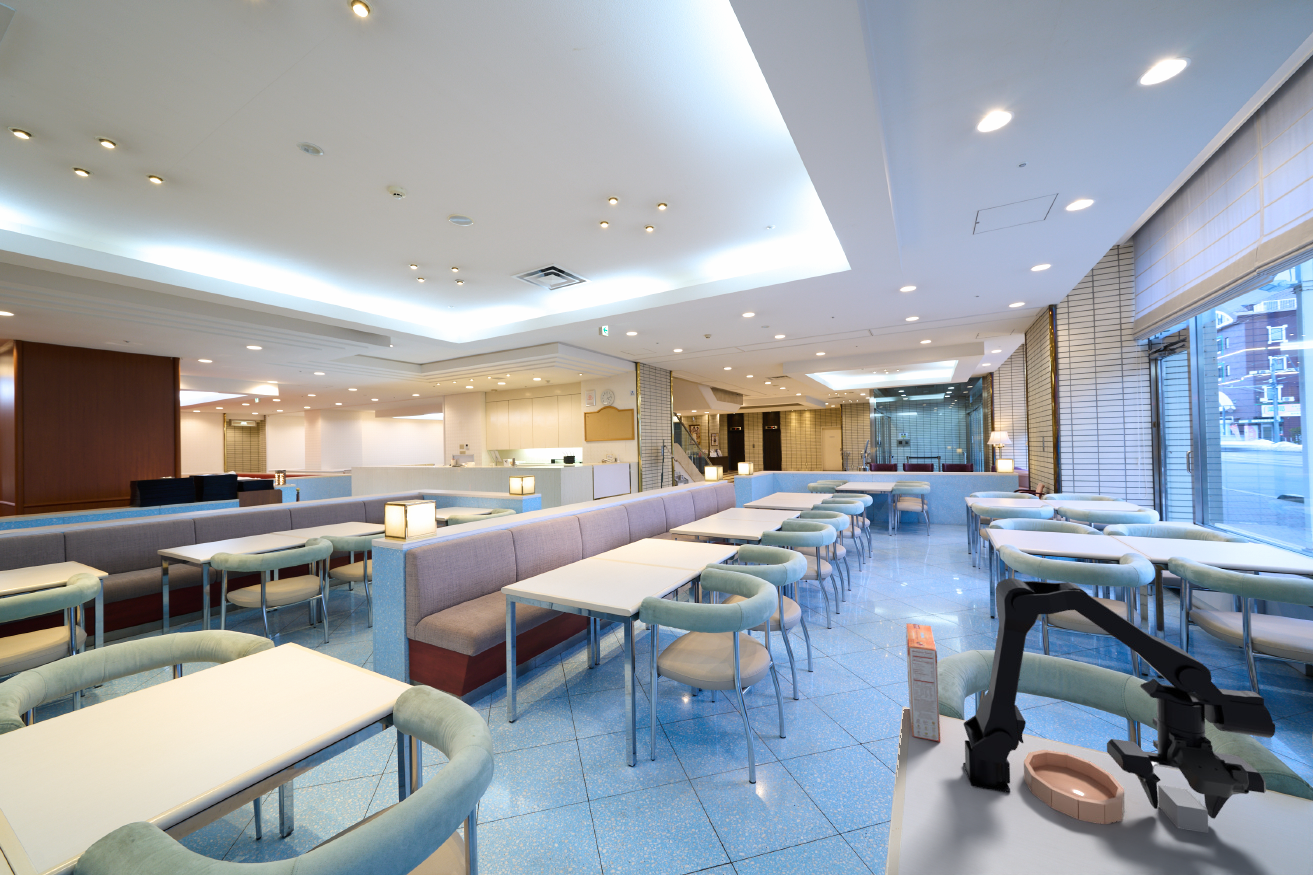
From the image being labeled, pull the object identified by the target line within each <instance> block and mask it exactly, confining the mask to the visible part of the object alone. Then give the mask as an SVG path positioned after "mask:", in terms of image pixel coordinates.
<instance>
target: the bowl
mask: <svg viewBox="0 0 1313 875" xmlns="http://www.w3.org/2000/svg"><path fill="white" fill-rule="evenodd" d="M1023 778H1024V782H1025V783H1026V785H1027V786H1028V788H1029V791H1030V792H1031V793H1032V794H1033V795H1034V796H1035V797H1036V798H1037V799H1039V800H1040V801H1042V802H1043V803H1044V804H1046V805H1047V806H1048V807H1050V808H1052V809H1053V810H1056V811H1058V812H1060V813H1061V814H1062V813H1063V814H1064V815H1067V816H1069V817H1072V818H1073V819H1076V820H1079V821H1082V822H1083V821H1084V822H1090V823H1095V824H1100V823H1101V824H1102V825H1109V824H1112V823H1111V822H1113V823H1117V822H1121V821H1123V818H1124V814H1125V805H1126V804H1125V803H1126V802H1125V788H1124V787H1123V786H1122V785H1121V784H1120V782H1119V781H1118V780H1117V778H1115V776H1114V775H1113V774H1111V773H1110V772H1108V771H1106V770H1105V769H1103V767H1100V766H1099V765H1097V764H1095V763H1094V762H1091V761H1090V760H1087V759H1085V758H1081V757H1078V756H1076V755H1073V754H1071V753H1068V752H1063V751H1055V750H1048V749H1041V750H1034V751H1030V752H1028V753H1027V754H1026V756H1025V759H1024V761H1023ZM1116 821H1117V822H1116ZM1108 823H1109V824H1108ZM1101 824H1100V825H1101Z"/></svg>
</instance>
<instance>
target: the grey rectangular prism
mask: <svg viewBox="0 0 1313 875" xmlns="http://www.w3.org/2000/svg"><path fill="white" fill-rule="evenodd" d="M1157 793H1158V807H1159V808H1160V809H1161V811H1162V812H1163V813H1164V814H1165V815H1166V816H1167V818H1169V819H1170V821H1171V822H1172V823H1173V824H1174V825H1175V827H1176V828H1178V829H1183V830H1188V831H1193V832H1200V833H1201V832H1202V833H1206V834H1209V815H1208V810H1207V809H1206V806H1205V805H1203V803H1201V802H1200V801H1199V800H1198V799H1197V798H1196V797H1195V796H1194V795H1193V793H1191V791H1189V790H1188V789H1187V788H1181V787H1176V786H1168V785H1161V784H1157Z"/></svg>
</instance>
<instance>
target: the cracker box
mask: <svg viewBox="0 0 1313 875" xmlns="http://www.w3.org/2000/svg"><path fill="white" fill-rule="evenodd" d="M905 640H906V641H905V643H906V663H907V666H906V667H907V668H906V669H907V685H908V686H907V687H908V703H909V706H908V707H909V717H910V726H911V727H910V728H911V733H912V734H911V736H912V737H913V738H917V739H918V738H919V739H924V740H929V741H933V742H938V743H941V726H940V723H941V722H940V721H941V720H940V701H939V678H938V676H939V674H938V671H939V670H938V651H937V647H936V643H935V637H934V633H933V629H932V626H931V625H926V624H925V625H924V624H918V623H905Z"/></svg>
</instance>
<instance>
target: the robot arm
mask: <svg viewBox="0 0 1313 875" xmlns="http://www.w3.org/2000/svg"><path fill="white" fill-rule="evenodd" d="M995 605H996V612H997V617H998V629H997V636H996V642H995V648H994V652H993V653H994V654H993V660H992V667H991V674H990V679H989V686H988V690H987V692H986V693H985V695H984V696H983V697H982V698H981V700H980V702H979V705H978V707H977V710H976V711H975V712H976V713H975V715H973V716H972V717H970V718H969V719H967V720H966V721H965V722H963V727H964V730H965V732H966V735H967V739H968V740H964V757H965V759H964V760H965V761H964V762H963V763H962V767H963V769H964V772H965V774H966V777H967V779H968V781H969V784H970V786H972V787H973V788H978V789H983V790H984V789H986V790H991V791H995V792H1003V793H1007V794H1009V793H1011V788H1010V786H1009V784H1011V771H1010V770H1011V767H1010V766H1011V764H1010V762H1009V760H1008V757H1009V755H1010V753H1011V752H1012V751H1016V750H1017V749H1018V747H1019V744H1020V743H1021V744H1024V739H1023V734H1024V730H1025V729H1026V724H1027V723H1026V722H1027V721H1026V720H1025V718H1024V716H1023V714H1022V713H1021V710H1020V709H1019V707H1018V705H1016V700H1017V694H1018V687H1019V681H1020V675H1021V669H1022V662H1023V657H1024V651H1025V645H1026V639H1027V635H1028V633H1029V632H1030V631H1031V629H1032V628H1033V627H1034V626H1035V624H1036V622H1037V620H1038V617H1039V615H1054V614H1057V613H1062V612H1066V611H1075V612H1077V613H1079V615H1082V617H1084V618H1086V620H1089V621H1090V622H1092V623H1093V624H1094V625H1096V626H1097V627H1099V628H1100V629H1102V630H1103V631H1105V632H1106V633H1107V634H1109V635H1111V636H1112V637H1114V638H1115V639H1116V640H1118V641H1120V643H1122V644H1123V645H1125V646H1126V647H1128V648H1130V649H1131V650H1132V651H1134V652H1135V653H1136V654H1137V655H1138V656H1139V657H1140V658H1141V659H1143V661H1144V662H1145V663H1147V664H1148V665H1149V666H1150V667H1151V668H1152V669H1153V670H1154V671H1155V672H1157V673H1158V674H1159V675H1160V676H1161V677H1162V678H1164V679H1165V680H1166V681H1167V682H1168V683H1170V685H1169V684H1162V683H1160V681H1158V680H1157V679H1155V678H1151V679H1150V680H1149V681H1147V682H1144V683H1141V684H1140V686H1139V687H1140V688H1141V689H1142V690H1143V691H1144V692H1145V693H1146V694H1147V695H1148V696H1149V697H1150V698H1152V699H1156V717H1152V724H1153V725H1154V726H1155V727H1156V728H1157V730H1156V731H1157V733H1156V734H1157V735H1156V736H1157V740H1155V739H1153V740H1152V746H1153V747H1154V748H1155V749H1156V750H1157V753H1156V752H1151V751H1145V750H1143V749H1142V748H1141V747H1140V746H1139V745H1138V744H1137V743H1136V742H1135V741H1131V740H1122V739H1114V738H1111V739H1109V740H1108V741H1107V742H1106V752H1107V754H1108V755H1109V756H1110V757H1111V758H1112V760H1114V761H1115V763H1116V764H1117V765H1118V766H1119V767H1120V769H1121V770H1122V771H1124V772H1126V773H1127V774H1134V775H1135V776H1136V777H1137V778H1138V780H1139V782H1140V784H1141V786H1142V789H1143V790H1144V793H1145V794H1146V798H1147V799H1148V801H1149V803H1150V805H1151V806H1152V808H1153V809H1155V810H1157V809H1158V807H1159V800H1158V783H1159V782H1160V781H1161V779H1160V777H1159V776H1158V775H1157V774H1156V773H1155V767H1161V768H1168V769H1175V770H1179V771H1180V773H1181V774H1182V775H1183V776H1184V778H1185V780H1186V781H1187V783H1188V786H1190V788H1191V790H1193V791H1194V792H1196V793H1197V794H1200V795H1203V796H1204V806H1205V808H1206V809H1207V810H1208V817H1210V818H1211V819H1216V817H1217V816H1218V814H1219V813H1220V811H1221V810H1222V808H1224V805H1225V804H1226V802H1227V801H1228V800H1229V799H1230V798H1231V797H1232V796H1233V795H1240V794H1243V795H1248V794H1249V793H1250V792H1255V793H1261V794H1265V793H1266V791H1267V786H1266V785H1267V781H1266V779H1265V777H1264V776H1263V775H1262V774H1261V773H1260V772H1259V771H1258V770H1257V769H1256V768H1254V767H1253V766H1252V765H1251V764H1249V763H1248V762H1247V761H1245V760H1244V759H1243V758H1242V757H1240V756H1239V755H1236V754H1229V753H1228V754H1227V753H1221V752H1214V751H1213V744H1212V741H1211V740H1210V739H1209V738H1207V737H1206V721H1207V722H1208V723H1209V724H1212V725H1213V726H1214V727H1215V728H1216V729H1217V730H1218V731H1220V732H1225V733H1233V734H1239V735H1240V734H1241V735H1247V736H1251V737H1252V736H1254V737H1261V738H1268V739H1271V738H1273V737H1274V736H1275V733H1276V724H1275V723H1274V722H1273V718H1272V715H1271V713H1270V712H1269V710H1268V708H1267V707H1266V705H1265V698H1264V697H1262V696H1260V694H1258V693H1257V692H1256V691H1249V690H1235V689H1234V690H1233V689H1225V688H1219V687H1217V685H1215V684H1214V683H1213V682H1212V672H1211V670H1210V669H1209V668H1208V667H1207V666H1206V665H1204V663H1202V662H1201V661H1199V660H1197V659H1196V658H1195V657H1194V656H1192V655H1191V654H1189V653H1188V652H1186V651H1185V650H1184V649H1182V648H1180V647H1178V646H1177V645H1174V644H1172V643H1170V642H1169V641H1166V640H1163V639H1162V638H1159V637H1158V636H1157V637H1156V636H1155V635H1151V634H1150V633H1147V632H1145V631H1144V630H1142V629H1140V628H1139V627H1138V626H1136V625H1135V624H1133V623H1132V622H1130V621H1128V620H1127V619H1125V618H1124V617H1123V616H1121V615H1120V614H1118V613H1117V612H1115V611H1113V610H1112V609H1110V608H1109V607H1108V606H1106V605H1104V604H1103V603H1102V602H1100V601H1098V600H1097V599H1096V598H1095V597H1093V596H1092V595H1089V594H1088V593H1087V592H1086V591H1085V590H1084V589H1083V588H1081V587H1080V586H1078V584H1075V583H1073V582H1067V581H1065V582H1048V581H1040V580H1039V581H1036V580H1024V581H1023V580H1020V579H1017V578H1013V577H1009V578H1005V579H1002V580H1001V581H998V582H997V584H996V587H995Z"/></svg>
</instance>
